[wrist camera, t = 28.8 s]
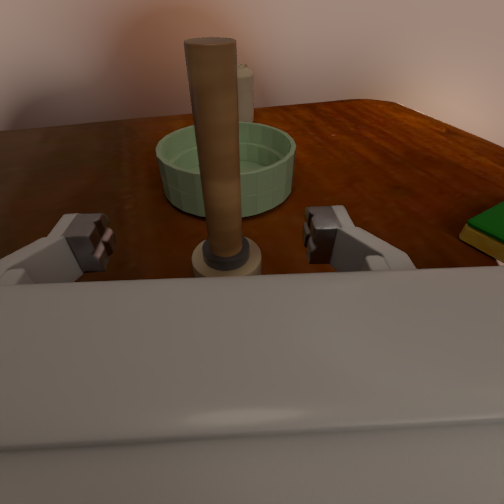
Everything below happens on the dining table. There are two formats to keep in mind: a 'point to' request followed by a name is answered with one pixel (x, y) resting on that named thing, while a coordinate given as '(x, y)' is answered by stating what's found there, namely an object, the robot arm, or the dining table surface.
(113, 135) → the dining table surface
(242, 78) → the candle
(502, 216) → the dish sponge
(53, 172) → the dining table surface
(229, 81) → the wooden dowel stand
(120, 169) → the dining table surface
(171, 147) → the bowl
